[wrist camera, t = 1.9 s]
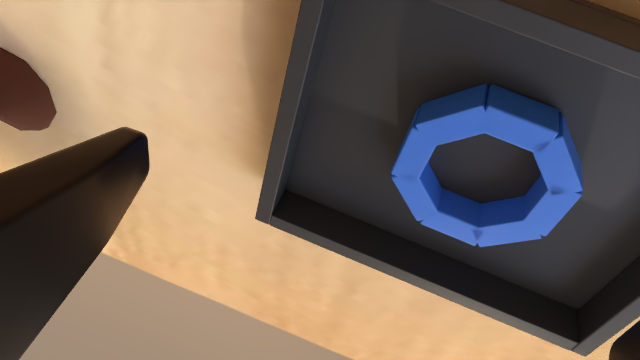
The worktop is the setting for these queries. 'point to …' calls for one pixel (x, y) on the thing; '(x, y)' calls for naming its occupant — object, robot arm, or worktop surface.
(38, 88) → the ice cream bowl
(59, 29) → the worktop surface
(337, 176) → the tray
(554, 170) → the ring
